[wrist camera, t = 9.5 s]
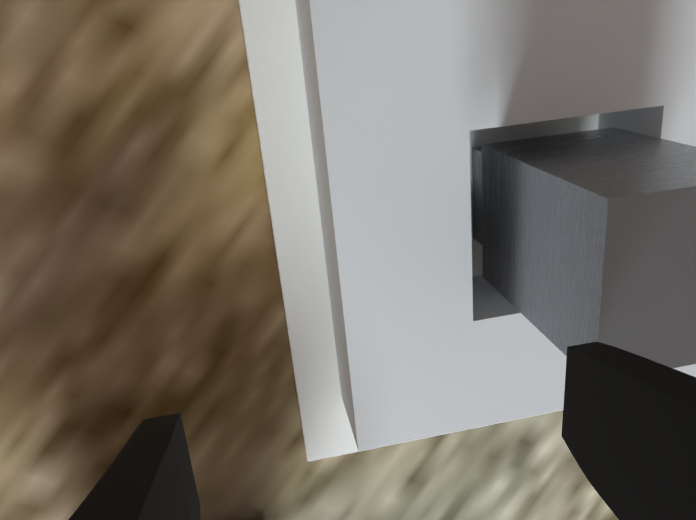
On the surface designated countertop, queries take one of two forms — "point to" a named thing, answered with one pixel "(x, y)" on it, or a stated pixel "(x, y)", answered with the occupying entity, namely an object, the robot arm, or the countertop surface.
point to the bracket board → (431, 189)
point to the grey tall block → (593, 238)
